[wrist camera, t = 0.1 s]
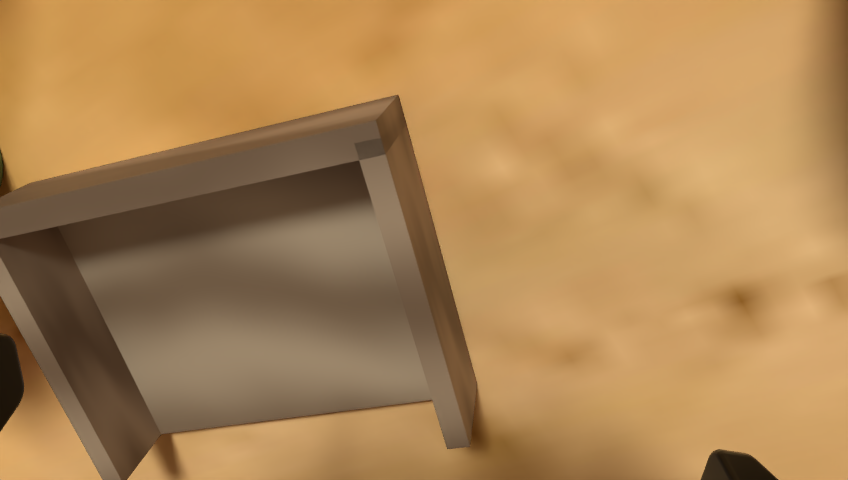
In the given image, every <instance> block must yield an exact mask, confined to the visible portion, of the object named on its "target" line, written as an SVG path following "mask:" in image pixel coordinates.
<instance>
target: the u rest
mask: <svg viewBox="0 0 848 480" xmlns="http://www.w3.org/2000/svg"><path fill="white" fill-rule="evenodd" d="M0 296H1V298H2V300H3V302H4V303H5V305H6V307H7V309H8V311H9V312H10V314H11V316H12V318H13V320H14V321H15V323H16V325H17V327H18V329H19V330H20V332H21V334H22V336H23V338H24V339H25V341H26V343H27V345H28V347H29V348H30V350H31V352H32V354H33V356H34V357H35V359H36V361H37V363H38V364H39V366H40V368H41V370H42V372H43V373H44V375H45V377H46V379H47V381H48V382H49V384H50V386H51V388H52V390H53V391H54V393H55V395H56V397H57V399H58V400H59V402H60V404H61V406H62V408H63V409H64V411H65V413H66V415H67V417H68V418H69V420H70V422H71V424H72V426H73V427H74V429H75V431H76V433H77V435H78V436H79V438H80V440H81V442H82V444H83V445H84V447H85V449H86V451H87V453H88V454H89V456H90V458H91V460H92V462H93V463H94V465H95V467H96V469H97V470H98V472H99V474H100V476H101V478H102V479H103V480H127V479H128V478H129V476H130V475H131V474H132V472H133V471H134V470H135V468H136V467H137V466H138V464H139V463H140V462H141V460H142V459H143V458H144V456H145V455H146V454H147V452H148V451H149V450H150V448H151V447H152V446H153V444H154V443H155V442H156V440H157V439H158V438H159V436H160V435H161V434H166V433H174V432H182V431H189V430H197V429H205V428H213V427H221V426H229V425H237V424H245V423H253V422H261V421H269V420H277V419H284V418H292V417H300V416H308V415H316V414H324V413H332V412H340V411H348V410H356V409H364V408H372V407H379V406H387V405H395V404H403V403H411V402H419V401H427V400H432V401H433V404H434V407H435V411H436V414H437V417H438V420H439V424H440V427H441V430H442V433H443V437H444V440H445V443H446V447H447V449H453V448H463V447H470V443H471V434H472V425H473V417H474V408H475V399H476V391H477V382H476V379H475V375H474V371H473V368H472V364H471V360H470V357H469V353H468V349H467V346H466V342H465V338H464V335H463V331H462V327H461V324H460V320H459V316H458V313H457V309H456V305H455V302H454V298H453V294H452V290H451V287H450V283H449V279H448V276H447V272H446V268H445V265H444V261H443V257H442V254H441V250H440V246H439V243H438V239H437V235H436V232H435V228H434V224H433V221H432V217H431V213H430V210H429V206H428V202H427V199H426V195H425V191H424V188H423V184H422V180H421V177H420V173H419V169H418V166H417V162H416V158H415V155H414V151H413V147H412V144H411V140H410V136H409V133H408V129H407V125H406V121H405V118H404V114H403V110H402V107H401V103H400V99H399V96H398V95H395V96H391V97H387V98H383V99H379V100H374V101H370V102H366V103H362V104H358V105H353V106H349V107H345V108H341V109H337V110H333V111H328V112H324V113H320V114H316V115H312V116H308V117H303V118H299V119H295V120H291V121H287V122H283V123H278V124H274V125H270V126H266V127H262V128H258V129H253V130H249V131H245V132H241V133H237V134H233V135H228V136H224V137H220V138H216V139H212V140H208V141H203V142H199V143H195V144H191V145H187V146H183V147H178V148H174V149H170V150H166V151H162V152H158V153H153V154H149V155H145V156H141V157H137V158H133V159H128V160H124V161H120V162H116V163H112V164H107V165H103V166H99V167H95V168H91V169H87V170H82V171H78V172H74V173H70V174H66V175H62V176H57V177H53V178H49V179H45V180H41V181H37V182H32V183H29V184H27V185H25V186H23V187H21V188H18V189H16V190H14V191H12V192H10V193H8V194H6V195H4V196H2V197H0Z"/></svg>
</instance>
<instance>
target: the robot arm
mask: <svg viewBox="0 0 848 480" xmlns="http://www.w3.org/2000/svg"><path fill="white" fill-rule="evenodd" d="M23 392H24V382H23V377H22V372H21V367H20V363H19V358H18V353H17V349H16V345H15V342H14V341H13V339H12V338H11V337H10V336H8V335H6V334H1V333H0V431H1V430H2V429H3V427H4V426H5V424H6V423H7V421H8V420H9V418H10V417H11V415H12V414H13V413H14V411H15V410H16V408H17V407H18V405H19V403H20V401H21V399H22V396H23ZM701 480H778V479H777V478H776V477H775V476H774V475H773V474H772V473H770V472H769V471H768V470H767V469H766V468H765V467H764V466H763V465H762V464H761V463H760V462H758V461H757V460H756V459H755V458H754V457H752V456H751V455H749V454H745V453H740V452H734V451H727V450H721V449H718V450H715V451H713V452H712V453H711V455H710V456H709V458H708V461H707V464H706V467H705V470H704V472H703V475H702V478H701Z"/></svg>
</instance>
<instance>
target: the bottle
mask: <svg viewBox="0 0 848 480" xmlns="http://www.w3.org/2000/svg"><path fill="white" fill-rule="evenodd" d="M2 177H3V162H2V156H1V152H0V186H1V183H2Z"/></svg>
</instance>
